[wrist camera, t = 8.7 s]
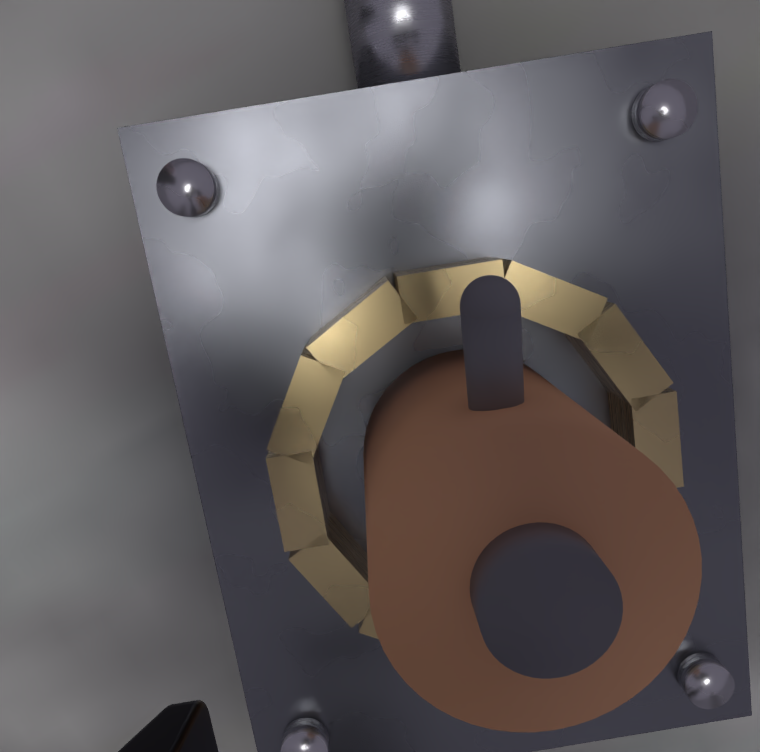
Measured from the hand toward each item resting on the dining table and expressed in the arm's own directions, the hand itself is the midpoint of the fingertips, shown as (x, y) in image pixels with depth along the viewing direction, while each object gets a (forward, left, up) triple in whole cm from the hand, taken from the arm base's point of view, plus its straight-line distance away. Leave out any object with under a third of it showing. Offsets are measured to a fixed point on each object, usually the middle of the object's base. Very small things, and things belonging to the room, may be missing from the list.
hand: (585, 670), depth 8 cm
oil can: (+1, 0, -9) cm, 9 cm away
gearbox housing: (+1, 0, -11) cm, 11 cm away
